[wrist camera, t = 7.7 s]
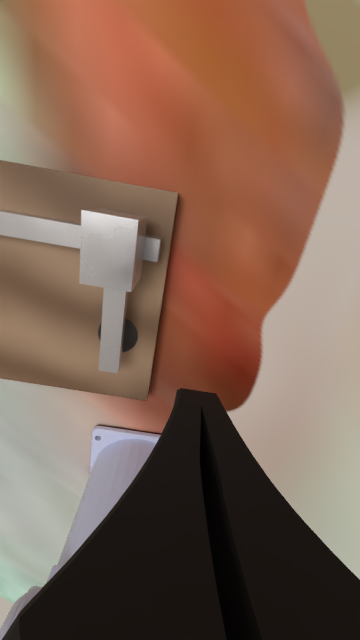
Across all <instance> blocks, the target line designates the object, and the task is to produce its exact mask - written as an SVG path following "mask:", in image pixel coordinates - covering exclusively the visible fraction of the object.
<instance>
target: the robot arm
mask: <svg viewBox="0 0 360 640" xmlns="http://www.w3.org/2000/svg"><path fill="white" fill-rule="evenodd" d="M98 436H100V437H98ZM0 640H360V580H359V579H358V578H357V577H356V576H355V575H354V574H353V573H352V572H351V571H350V570H349V569H348V568H347V567H346V566H345V565H344V564H343V563H342V562H341V561H340V560H339V559H338V557H337V556H335V554H333V552H332V551H331V550H330V549H329V548H328V547H327V546H326V545H325V544H324V543H323V542H322V540H321V539H320V538H319V537H318V536H317V535H316V534H315V533H314V532H313V531H312V530H311V529H310V528H309V526H308V525H307V524H306V523H305V522H304V521H303V520H302V519H301V517H300V516H299V515H298V514H297V513H296V512H295V511H294V509H293V508H292V507H291V506H290V505H289V503H288V502H287V501H286V500H285V498H284V497H283V496H282V495H281V493H280V492H279V491H278V490H277V488H276V487H275V486H274V484H273V483H272V482H271V481H270V479H269V478H268V477H267V475H266V474H265V472H264V471H263V469H262V468H261V467H260V465H259V464H258V462H257V461H256V459H255V458H254V457H253V455H252V454H251V452H250V451H249V449H248V448H247V446H246V444H245V443H244V441H243V439H242V438H241V436H240V435H239V433H238V431H237V430H236V428H235V426H234V425H233V423H232V421H231V419H230V418H229V416H228V414H227V412H226V411H225V409H224V407H223V405H222V403H221V401H220V399H219V397H218V396H217V394H215V393H208V392H202V391H195V390H189V389H183V388H180V389H179V390H177V393H176V398H175V403H174V407H173V410H172V412H171V415H170V417H169V419H168V421H167V424H166V426H165V428H164V430H163V432H162V434H161V435H158V434H151V433H145V432H138V431H131V430H125V429H118V428H111V427H105V426H95V427H94V429H93V431H92V445H91V462H90V477H89V479H88V482H87V485H86V488H85V490H84V493H83V496H82V499H81V501H80V504H79V507H78V510H77V512H76V515H75V518H74V521H73V523H72V526H71V529H70V532H69V534H68V537H67V540H66V543H65V545H64V548H63V551H62V554H61V556H60V559H59V562H58V565H55V566H53V567H52V570H51V573H50V575H49V578H48V581H47V583H46V584H45V585H44V586H43V587H38V586H33V587H31V588H30V589H29V590H28V592H27V593H25V594H24V595H23V596H21V597H20V598H19V599H18V600H17V601H16V602H15V603H14V605H13V606H12V608H11V610H10V612H9V613H8V615H7V617H6V619H5V621H4V623H3V625H2V627H1V629H0Z"/></svg>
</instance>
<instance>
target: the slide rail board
mask: <svg viewBox="0 0 360 640" xmlns="http://www.w3.org/2000/svg"><path fill="white" fill-rule="evenodd" d="M178 195H179V193H176V192H170V191H165V190H160V189H154V188H149V187H143V186H138V185H132V184H127V183H121V182H116V181H111V180H105V179H100V178H94V177H89V176H83V175H78V174H73V173H67V172H62V171H56V170H51V169H45V168H40V167H34V166H29V165H24V164H18V163H13V162H7V161H2V160H0V208H1V209H6V210H12V211H18V212H23V213H29V214H35V215H40V216H46V217H52V218H57V219H63V220H68V221H74V222H80V223H81V210H87V209H105V210H111V211H117V212H122V213H128V214H133V215H139V216H144V217H148V218H147V227H146V234H147V235H153V236H159V237H162V244H161V251H160V258H159V260H158V262H153V261H148V260H143V262H142V271H141V278H140V279H139V281H138V282H137V284H136V285H135V287H134V289H133V290H132V292H128V298H127V308H126V318H125V329H124V339H123V349H122V359H121V368H120V370H119V373H112V372H105V371H99V356H100V340H101V324H102V308H103V292H104V288H103V287H97V286H91V285H85V284H79V280H80V249H79V248H73V247H67V246H61V245H56V244H50V243H44V242H38V241H33V240H27V239H21V238H15V237H10V236H4V235H0V378H2V379H8V380H15V381H21V382H27V383H34V384H40V385H47V386H53V387H60V388H66V389H73V390H79V391H86V392H92V393H99V394H105V395H112V396H118V397H125V398H131V399H137V400H144V401H147V397H148V393H149V387H150V380H151V374H152V367H153V360H154V354H155V347H156V340H157V334H158V327H159V321H160V314H161V307H162V301H163V294H164V288H165V281H166V274H167V268H168V261H169V255H170V248H171V241H172V235H173V228H174V221H175V215H176V208H177V202H178Z"/></svg>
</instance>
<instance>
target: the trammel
mask: <svg viewBox="0 0 360 640" xmlns="http://www.w3.org/2000/svg"><path fill="white" fill-rule="evenodd" d="M147 218H148V217H144V216H139V215H133V214H128V213H122V212H117V211H111V210H105V209H87V210H81V223H80V222H74V221H68V220H63V219H57V218H52V217H46V216H40V215H35V214H29V213H23V212H18V211H12V210H6V209H1V208H0V235H4V236H10V237H15V238H21V239H27V240H33V241H38V242H44V243H50V244H56V245H61V246H67V247H73V248H79V249H80V280H79V284H85V285H91V286H97V287H103V288H104V292H103V308H102V324H101V340H100V356H99V371H105V372H112V373H119V370H120V368H121V359H122V349H123V339H124V329H125V318H126V308H127V298H128V292H132V290H133V289H134V287H135V285H136V284H137V282H138V281H139V279H140V278H141V271H142V262H143V260H148V261H153V262H158V260H159V258H160V251H161V244H162V237H159V236H153V235H147V234H146V227H147Z"/></svg>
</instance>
